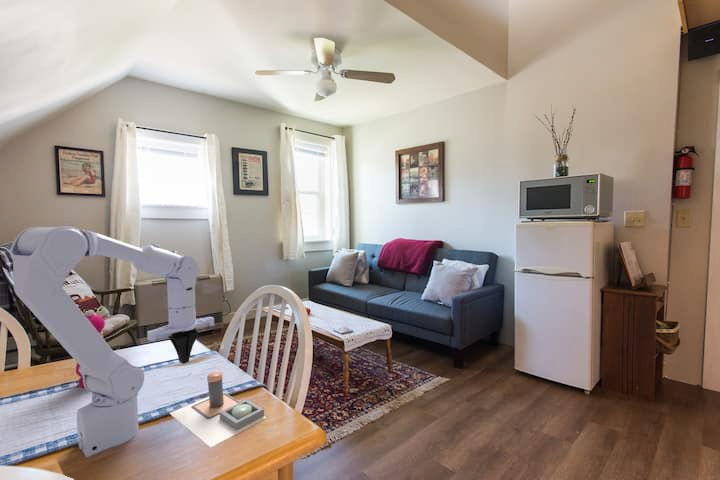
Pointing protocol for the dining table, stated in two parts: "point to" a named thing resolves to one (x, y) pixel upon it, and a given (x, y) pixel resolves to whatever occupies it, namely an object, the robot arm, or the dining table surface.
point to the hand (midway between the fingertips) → (184, 361)
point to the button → (241, 411)
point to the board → (216, 419)
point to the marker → (215, 389)
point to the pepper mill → (99, 325)
